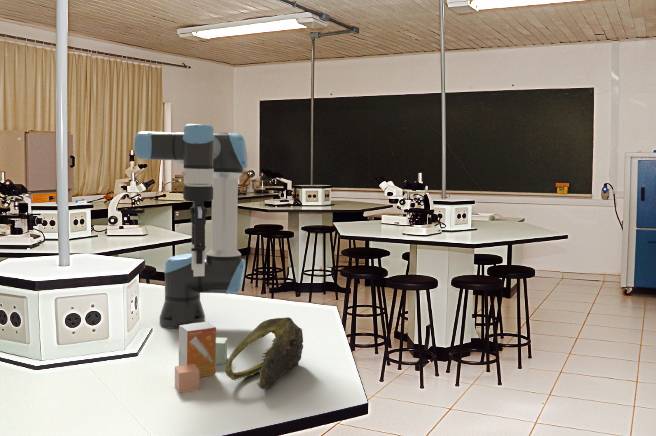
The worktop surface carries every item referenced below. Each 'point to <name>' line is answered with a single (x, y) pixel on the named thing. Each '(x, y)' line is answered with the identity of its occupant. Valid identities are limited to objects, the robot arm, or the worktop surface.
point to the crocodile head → (271, 351)
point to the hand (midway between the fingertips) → (197, 272)
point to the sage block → (221, 350)
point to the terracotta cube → (186, 378)
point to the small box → (198, 347)
